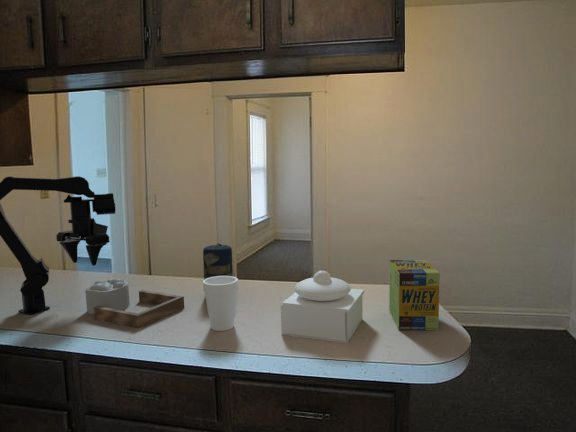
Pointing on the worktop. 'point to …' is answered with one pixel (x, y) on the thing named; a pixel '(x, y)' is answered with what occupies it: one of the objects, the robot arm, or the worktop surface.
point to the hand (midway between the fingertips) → (84, 263)
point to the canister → (217, 261)
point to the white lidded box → (322, 309)
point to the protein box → (414, 295)
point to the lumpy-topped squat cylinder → (108, 295)
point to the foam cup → (221, 301)
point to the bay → (137, 320)
